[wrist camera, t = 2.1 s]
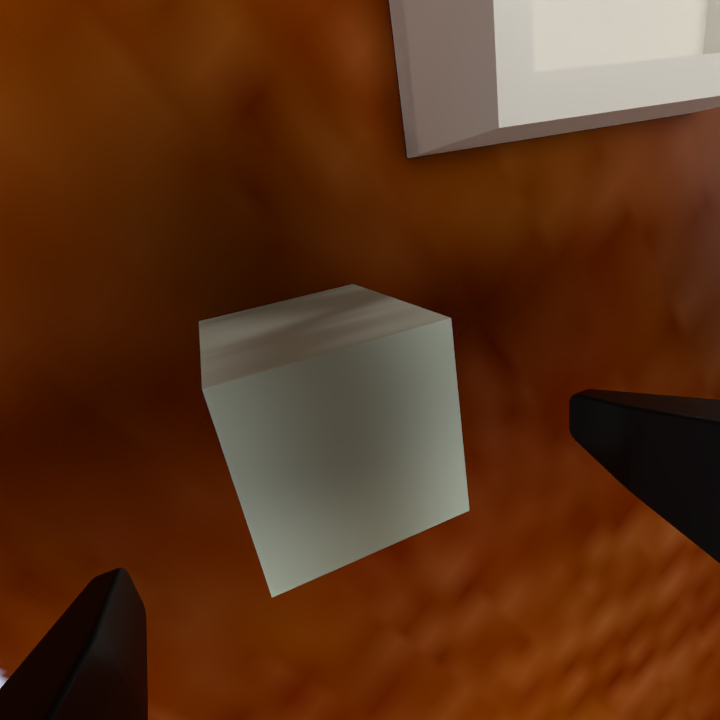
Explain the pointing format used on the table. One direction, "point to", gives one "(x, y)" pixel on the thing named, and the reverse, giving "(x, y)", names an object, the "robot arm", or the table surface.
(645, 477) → the robot arm
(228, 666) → the table surface
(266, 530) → the mint block
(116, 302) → the table surface
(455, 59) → the bin
